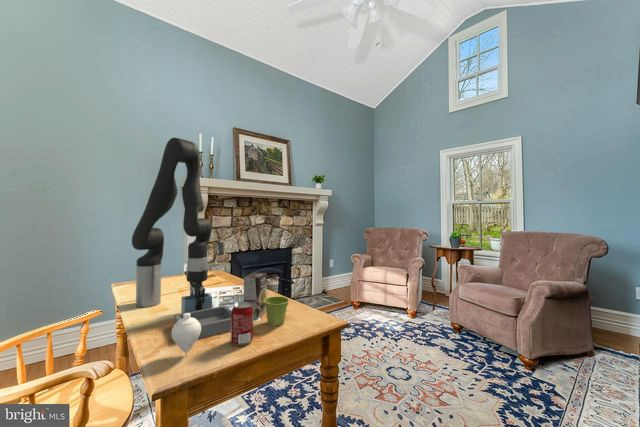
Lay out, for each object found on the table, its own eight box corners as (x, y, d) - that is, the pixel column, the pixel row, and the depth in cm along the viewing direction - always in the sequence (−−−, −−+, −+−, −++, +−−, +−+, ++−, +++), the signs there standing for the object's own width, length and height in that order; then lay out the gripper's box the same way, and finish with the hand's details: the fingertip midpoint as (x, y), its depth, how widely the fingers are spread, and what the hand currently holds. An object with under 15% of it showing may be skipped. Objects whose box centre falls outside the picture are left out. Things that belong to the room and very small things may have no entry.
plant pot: (273, 316, 110) (273, 294, 110) (293, 321, 106) (293, 298, 105) (257, 325, 101) (258, 301, 101) (279, 330, 97) (279, 305, 97)
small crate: (181, 314, 110) (181, 296, 109) (207, 309, 116) (208, 292, 115) (184, 319, 105) (184, 301, 105) (211, 314, 111) (212, 296, 111)
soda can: (253, 345, 86) (253, 307, 86) (230, 348, 84) (230, 308, 84) (252, 336, 92) (252, 300, 92) (230, 338, 90) (231, 301, 90)
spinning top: (195, 362, 76) (195, 318, 76) (166, 363, 75) (166, 319, 75) (204, 348, 83) (205, 308, 83) (178, 349, 83) (178, 309, 83)
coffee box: (257, 320, 106) (258, 277, 106) (242, 318, 107) (243, 276, 107) (267, 311, 115) (267, 272, 115) (252, 310, 116) (253, 271, 116)
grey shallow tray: (174, 326, 99) (174, 314, 99) (225, 315, 110) (225, 305, 110) (183, 342, 87) (183, 329, 87) (239, 328, 98) (239, 317, 98)
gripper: (183, 266, 113) (182, 307, 114) (191, 273, 102) (190, 318, 102) (202, 264, 118) (201, 303, 118) (212, 270, 106) (211, 314, 107)
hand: (196, 310), depth 110 cm, fingers closed on small crate, 6 cm apart
